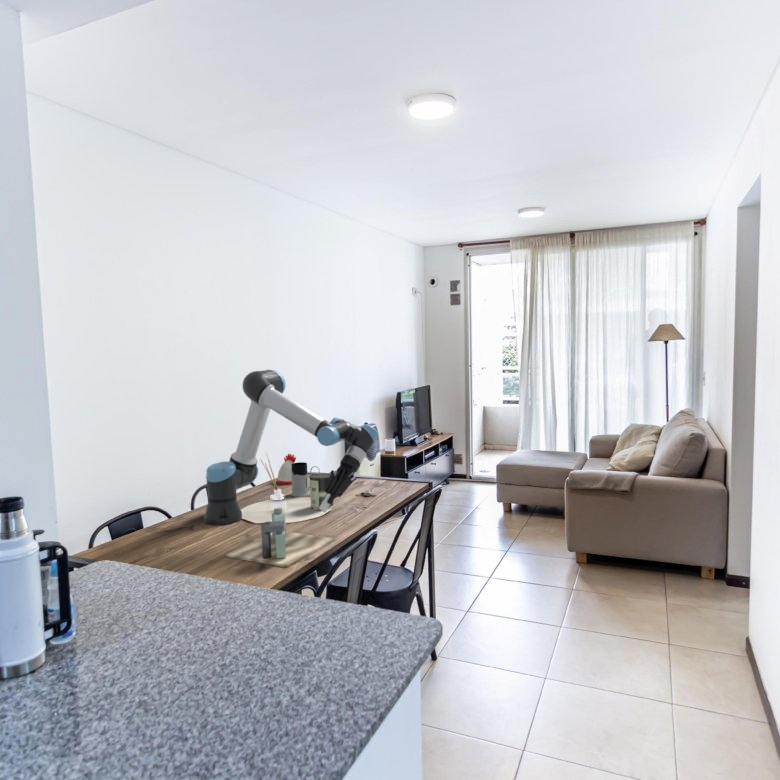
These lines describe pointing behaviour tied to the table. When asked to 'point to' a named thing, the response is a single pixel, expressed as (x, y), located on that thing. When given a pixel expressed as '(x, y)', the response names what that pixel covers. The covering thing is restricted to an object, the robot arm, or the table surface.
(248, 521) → the table surface
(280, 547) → the link
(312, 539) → the pintle board
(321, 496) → the coffee can
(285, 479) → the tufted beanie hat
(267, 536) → the keeper
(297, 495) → the grey and black mug
